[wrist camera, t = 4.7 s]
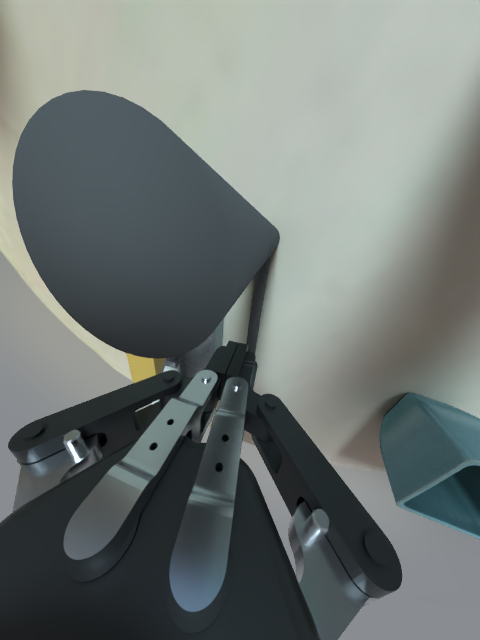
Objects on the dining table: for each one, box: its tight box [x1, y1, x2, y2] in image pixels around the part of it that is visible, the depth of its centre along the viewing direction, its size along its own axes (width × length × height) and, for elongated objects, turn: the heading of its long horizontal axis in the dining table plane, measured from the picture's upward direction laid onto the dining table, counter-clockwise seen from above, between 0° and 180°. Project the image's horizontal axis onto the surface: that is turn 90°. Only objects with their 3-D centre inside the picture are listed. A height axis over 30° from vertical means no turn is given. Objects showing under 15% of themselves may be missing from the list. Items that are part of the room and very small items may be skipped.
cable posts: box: [12, 90, 280, 440], centre depth 13 cm, size 2×18×18 cm, turn 174°
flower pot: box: [380, 393, 480, 539], centre depth 18 cm, size 9×9×9 cm
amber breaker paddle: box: [126, 353, 166, 383], centre depth 16 cm, size 2×4×8 cm, turn 175°
